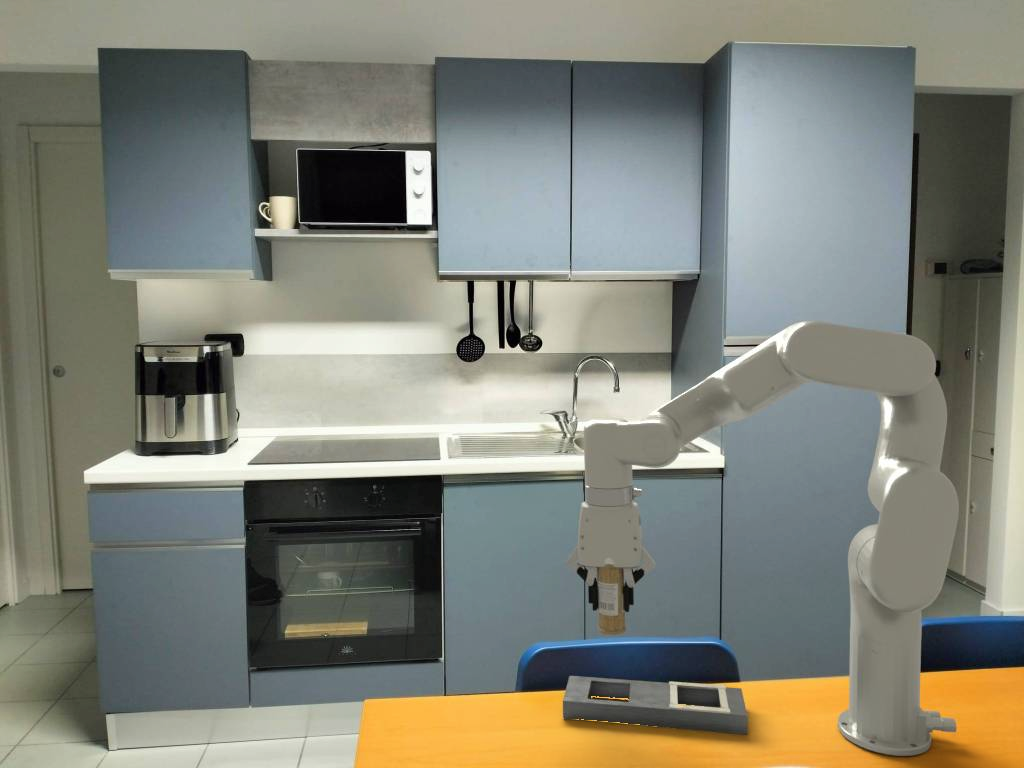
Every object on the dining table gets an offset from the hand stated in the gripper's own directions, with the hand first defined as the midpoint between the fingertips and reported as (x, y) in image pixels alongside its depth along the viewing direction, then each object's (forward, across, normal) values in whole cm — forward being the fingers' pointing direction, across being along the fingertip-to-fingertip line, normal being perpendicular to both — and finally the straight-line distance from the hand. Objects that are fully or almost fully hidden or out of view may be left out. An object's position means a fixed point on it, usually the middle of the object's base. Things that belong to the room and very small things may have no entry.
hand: (611, 607), depth 122 cm
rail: (+17, -6, 0) cm, 18 cm away
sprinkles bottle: (+4, 0, 0) cm, 4 cm away
